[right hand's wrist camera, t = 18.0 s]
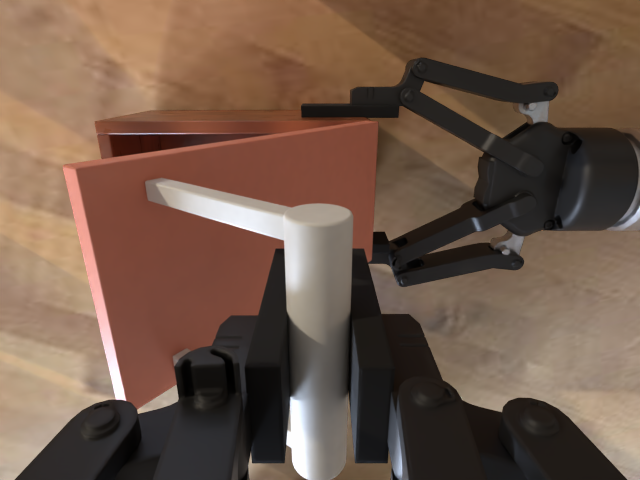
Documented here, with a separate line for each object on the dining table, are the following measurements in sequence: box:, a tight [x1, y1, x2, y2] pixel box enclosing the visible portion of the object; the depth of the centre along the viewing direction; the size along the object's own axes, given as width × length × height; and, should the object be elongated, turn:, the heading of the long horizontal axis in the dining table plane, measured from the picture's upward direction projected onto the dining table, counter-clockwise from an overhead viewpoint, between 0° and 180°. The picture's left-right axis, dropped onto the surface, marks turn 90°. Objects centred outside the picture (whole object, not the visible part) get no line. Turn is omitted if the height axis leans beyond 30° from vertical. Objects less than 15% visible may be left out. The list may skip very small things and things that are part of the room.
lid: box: [63, 121, 378, 480], centre depth 18 cm, size 18×9×9 cm
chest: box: [95, 110, 370, 159], centre depth 32 cm, size 17×9×10 cm, turn 90°
